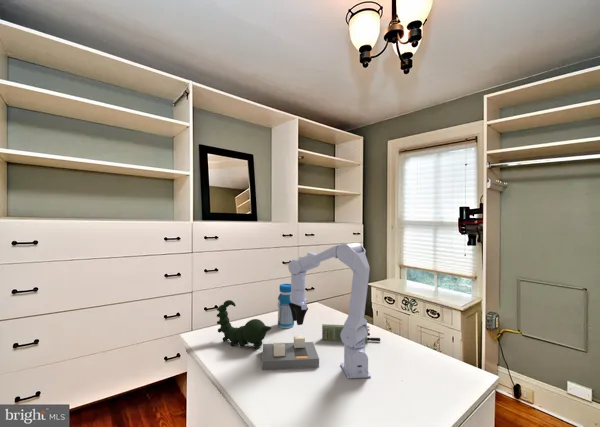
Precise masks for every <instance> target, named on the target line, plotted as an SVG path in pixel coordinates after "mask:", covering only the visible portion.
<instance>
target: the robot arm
mask: <svg viewBox="0 0 600 427" xmlns="http://www.w3.org/2000/svg"><path fill="white" fill-rule="evenodd" d="M366 252H367V251H366V249H365V248H364V246H363V245H362V244H360V243H359V242H352V243H351V242H350V243H349V242H348V243H340V244H337V245H334V246H332V247H329V248H327V249H324V250H323V251H320V253H316V252H306V253H307V255H304V256H300V257H298V259H292V260H290V261H289V263H288V266H287V267H288V271H289V273H290V277H291V279H290V280H291V282H290V284H291V296H290V300H291V303H288V304H289V306H290V309H291V312H292V318H293V321H294V322H296V325H297V326H302V325H303V324H304V320H305V317H306V314H307V312H308V310H309V308H308V304H307V302H308V298H306V276H307V272H308V271H310V270H313V269H315V268H318V267H320V265H321V262H324V261H327V260H329V259H333V258H334V259H338V260H339V261H340V262H341V263H343V264H344V265H346V266H347V267H349V268H350V270H351V271H352V272H353V274H352V280H351V281H352V282H351V289H350V290H351V291H350V298H349V307H348V314H347V315H348V316H347V318H346V320H344V323H343V325H344V328H343V330H342V331H341V334H340V336H341V340H342V341H341V342H342V344H343V347H344V348H343V362H341V363H340V366H341V368H342V370H343V372H344V374H345V375H346V378H347V379H359V378H360V379H362V378H363V379H364V378H371V377H372V375H371V374H370V372H369V358H368V355H367V352H366V342H365V338H366V337H369V336H368V333H369V331H368V329H369V328H367V326H368V325H367V324H368V320H367V319H366V318H365V314H366V304H367V295H368V286H369V278H370V270H371V269H370V264H369V260H368V258H367V256H366Z"/></svg>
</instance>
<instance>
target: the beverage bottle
mask: <svg viewBox="0 0 600 427" xmlns="http://www.w3.org/2000/svg"><path fill="white" fill-rule="evenodd" d="M279 292H280V293H279V295H278V298H277V300H278V302H277V326H278V327H279V328H281V329H290V328H291V329H292V328H293V327H294V326H295V321H293V318H292V312H291V309H290V306H289V304H288V303H291V300H290V296H291V283H282V284H279Z"/></svg>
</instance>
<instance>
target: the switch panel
mask: <svg viewBox="0 0 600 427" xmlns="http://www.w3.org/2000/svg"><path fill="white" fill-rule="evenodd" d="M274 343H275V342H273V343H262V358H261V359H262V362H261V363H262V366H261V370H262V371H271V370H272V371H273V370H274V371H275V370H290V369H291V370H292V369H293V370H294V369H306V368H307V369H309V368H320V357H319V355H318V352H317V348H316V347H315V344H314V341H305V348H294V342H284V343H285V356H274Z"/></svg>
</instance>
